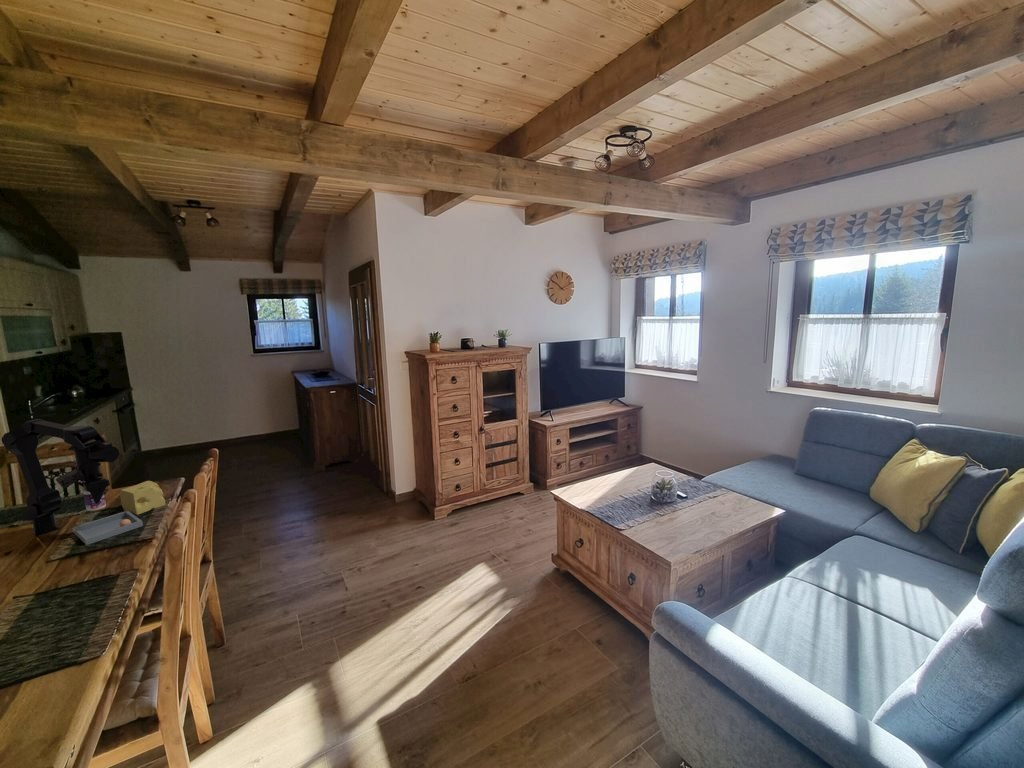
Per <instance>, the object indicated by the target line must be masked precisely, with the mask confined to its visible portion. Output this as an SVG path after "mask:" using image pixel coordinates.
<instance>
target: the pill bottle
mask: <svg viewBox="0 0 1024 768" xmlns="http://www.w3.org/2000/svg"><path fill="white" fill-rule="evenodd" d="M82 493H83V495H82V496H83V499H84V504H85V509H86V511H89V512H91V511H98V510H101V509H103V508H105V507H106V506H107V502H106V497H105V492H104V493H103V495H102V498H101V500H100V503H97V504H95V502H94V500H93V498H92V496H91V493H90V492H88V491H85V490H84V489H83V492H82Z"/></svg>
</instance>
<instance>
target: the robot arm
mask: <svg viewBox="0 0 1024 768" xmlns="http://www.w3.org/2000/svg"><path fill="white" fill-rule="evenodd" d="M41 435H44V436H48V437H52V438H53V437H54V438H58V439H61V440H63V443H65V444H68V445H70V447H68V448H67V450H68V451H73V453H74V458H75V466H74V469H73V470H71V471H68V472H67V473H65V474H62V475H60V476H58V477H56V478H55V481H56V482H57V484H58V485H59V486H60V487H61V488H62V489H66V488H69V487H70V486H72V485H73V484H75V483H76V484H77V485H78V486H80V487H83V491H84V490H85V491H88V492H90V493H91V496H92V498H93V500H94V502H95V504H97V503H100V500H101V498H102V495H103V493H104V494H105V490H106V488H107V487H109V486H111V485H110V484H111V483H110V479H108V478H106V477H104V476H103V475H104V474H103V472H101V468H100V467H101V466H102V465H101V463H114V462H116V461H117V460H118V459H119V456H120V450H119V449H118V447H116V446H113V443H112V442H108V443H107V440H106V439H105V437H103V436H102V434H101V433H100V432H98V430H97V429H95V427H93V426H92V425H75V426H74V425H73V426H72V425H71V426H70V425H66V424H62V423H57V422H53V421H50V420H49V421H48V420H44V419H43V418H36V419H32V420H28V421H25V422H23V423H22V424H21V425H20V426H17V427H15V428H14V429H12V430H9V431H8V432H5V433H4V434H3V436H2V437H1V443H2V444H3V446H4V448H5V450H6V451H7V452H9V453H10V454H12V455H14V456H15V458H16V460H17V462H18V464H19V468H20V471H21V473H22V476H23V478H24V481H25V483H26V486H27V488H28V492H29V493H28V496H27V498H26V500H25V501H26V505H27V507H26V508H25V510H24V511H23V513H22V514H21V518H22V519H23V520H24V521H30V522H32V525H33V526H32V527H33V529H32V530H31V533H32V534H33V535H34V536H35V537H37V536H41V535H43V534H44V535H45V534H47V533H50V532H53V531H56V530H60V529H61V528H60V526H59V524H57V521H56V518H55V513H56V512H59V511H61V509H62V507H61V506H62V503H63V501H62V500H63V497H62V496H61V494H60V491H59V490H58V489H54V488H51V487H50V486H49V483H48V480H47V477H46V475H45V473H44V471H43V467H42V465H41V461H40V459H39V456H38V454H37V452H36V451H37V449H38V446H39V444H40V442H39V437H40V436H41Z"/></svg>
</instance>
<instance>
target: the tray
mask: <svg viewBox="0 0 1024 768" xmlns="http://www.w3.org/2000/svg"><path fill="white" fill-rule="evenodd" d="M124 519H129V520H130V521H131V524H128V525H125V526H122V527H120V522H121V521H122V520H124ZM143 526H144V522H143V520H142V519H140V518H139V517H137V515H136V514H134V513H131V512H129V511H124V510H123V511H121V512H118V513H115V514H112V515H109V516H105V517H102V518H99V519H96V520H92V521H89V522H86V523H83V524H79V525H77V526H73V527H72V532H73V534H74V535H75V536H77V538H78V539H79V540H80V541H81V542H83V543H84V544H85V546H87V545H88V546H89V545H91V544H95V543H97V542H101V541H104V540H105V539H109V538H112V537H114V536H115V537H116V536H117V535H120V534H123V533H126V532H129V531H132V530H135V529H137V528H141V527H143Z"/></svg>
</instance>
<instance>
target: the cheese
mask: <svg viewBox="0 0 1024 768" xmlns="http://www.w3.org/2000/svg"><path fill="white" fill-rule="evenodd" d="M163 495H164V492H163V490H162V488H161V487H160V486H159V484H157V483H156V482H154V481H151V480H146V481H143V482H141V483H138V484H134V485H132V486H129V487H126V488H122V489H120V495H119V496H120V498H119V499H120V503H121V507H122V509H123V512H124V511H129V512H130V513H132V514H133V515H135V516H137V515H140V514H144V513H146V512H149V511H151V510H152V509H157V508H160V507H162V506H166V499H165V498H164V497H163Z"/></svg>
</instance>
